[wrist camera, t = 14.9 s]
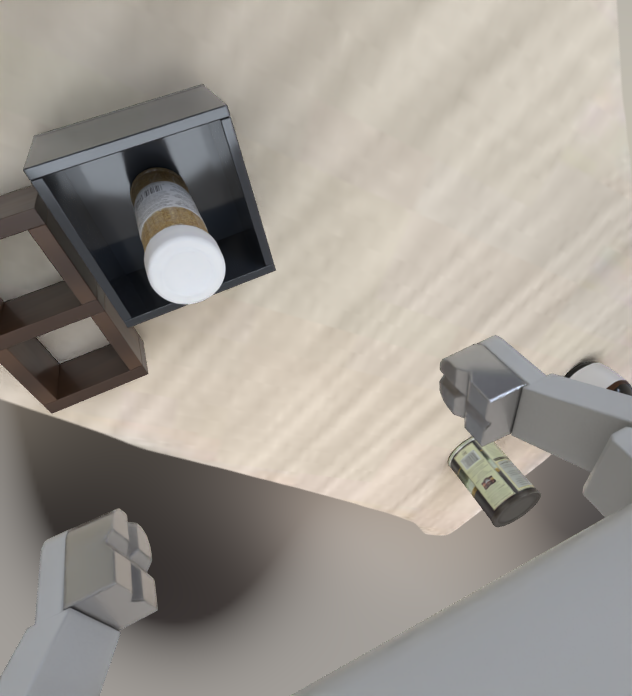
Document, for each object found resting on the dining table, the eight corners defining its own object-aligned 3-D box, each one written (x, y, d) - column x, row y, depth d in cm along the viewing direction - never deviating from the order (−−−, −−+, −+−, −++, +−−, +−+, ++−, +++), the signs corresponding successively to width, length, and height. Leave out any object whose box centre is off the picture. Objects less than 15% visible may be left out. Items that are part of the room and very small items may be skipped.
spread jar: (584, 353, 81) (640, 395, 73) (609, 361, 88) (663, 400, 79) (542, 399, 87) (589, 443, 78) (569, 403, 93) (615, 444, 85)
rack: (-88, 223, 30) (-111, 256, 27) (39, 182, 31) (34, 207, 28) (54, 377, 42) (51, 413, 38) (143, 342, 43) (148, 374, 39)
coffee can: (474, 464, 93) (520, 521, 83) (439, 469, 88) (484, 531, 78) (499, 431, 88) (551, 488, 78) (463, 435, 83) (515, 497, 73)
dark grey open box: (33, 135, 30) (22, 169, 24) (203, 83, 32) (227, 104, 26) (121, 280, 38) (127, 328, 33) (250, 232, 40) (276, 270, 35)
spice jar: (148, 229, 36) (170, 318, 26) (117, 178, 33) (130, 258, 23) (198, 208, 36) (238, 288, 27) (173, 155, 33) (208, 224, 24)
